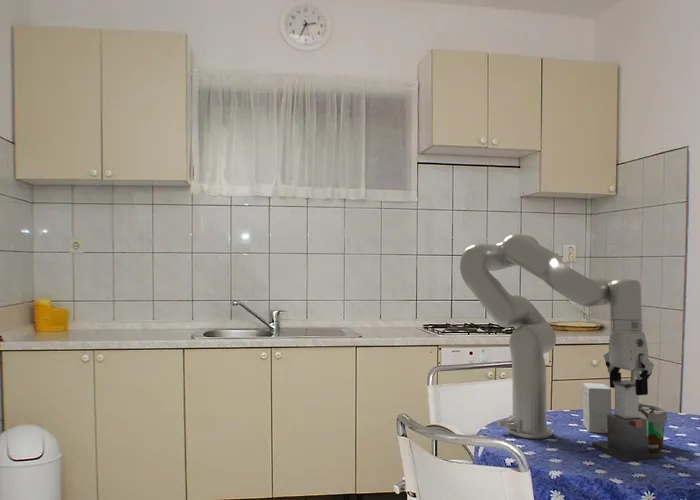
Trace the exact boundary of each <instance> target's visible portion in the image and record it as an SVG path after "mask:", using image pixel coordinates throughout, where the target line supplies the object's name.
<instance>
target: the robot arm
mask: <svg viewBox="0 0 700 500" xmlns="http://www.w3.org/2000/svg"><path fill="white" fill-rule="evenodd" d="M517 266H518V267H520V268H522V269H523V270H525V271H527V272H528V273H530V274H532V275H533V276H534V277H535V276H536V277H538V278H539V279H540V280H542V282H544V283H545V284H546V285H548V286H549V287H550V288H551V289H553V290H554V291H556V292H557V293H559V294H560V295H561V296H562V297H563V296H564V297H566V298H567V299H569V300H570V301H572V302H574V303H576V304H577V305H579V306H582V307H586V308H592V307H600V306H607V305H609V311H610V312H609V315H610V317H609V318H610V332H609V340H608V351H607V352H606V353H605V354H603V358H604V362H605V366H606V367H607V372H608V373H609V388H610V389H611V388H612V389H615V384H613V381H620V380H622V372H620V371H621V369H622V370H625V371H626V370H627V371H631V372H633V373H634V375H635V377H636V378H637V379H635V381H634V382H635V388H636V395H638V396H645V395H646V396H647V395H649V384H648V380H649V379H650V377H651V376H652V374H653V373H652V371H653V370H654V366H655V365H654V363H653V362H652V361H651V360H650V359H649V351H648V350H649V349H648V342H647V337H646V335H645V332H644V331H643V315H642V312H643V311H642V290H641V289H642V287H641V283H640V281H639V280H636V279H624V278H623V279H620V278H619V279H614V280H612V279H605V278H590V277H588V276H585V275H583V274H581V273H580V272H577V271H576V270H574V269H573V268H571V267H570V266H568V265H567V264H566V263H564V261H563V260H562V257H561V256H560V255H559V254H558V253H556V252H554V251H552V250H550V249H549V248H546V247H545V246H543V245H541V244H540V243H539V241H538V240H537V239H536V238H535V237H534V236H532V235H528V234H521V233H514V234H513V233H512V234H510V235H508V236H506V237H505V238H504V239H503V241H502V242H498V243H495V244H489V243H475V244H472V245H469V246H468V247H467V248H465V249H464V251H463V252H462V255H461V257H460V261H459V270H460V275H461V277H462V279H463V281H464V283H465V284H466V286H467V287H468V289H469V290H470V291H471V293H473V294H474V296H475V297H476V299H478V301H479V302H480V304H481V306H482V307H483V308H484V309H485V310H486V312H487V313H488V314H489V316H490V317H491V318H492V320H493V321H494V322H495V323H496V324H497V325H498V326H500V327H502V328H512V327H513V328H514V330H513V331H512V333H511V335H510V338H509V351H510V352H509V353H510V357H511V370H512V372H511V376H512V377H511V379H512V380H511V381H512V383H511V384H512V387H511V388H512V389H511V390H512V414H511V415H508V416H509V417H508V418H507V419H498V420H497V421H496V425H497V427H498V428H503V427H504V428H506V429H507V430H506V431H507V433H509V434H510V435H513V436H516V437H519V438H523V439H524V438H525V439H532V440H533V439H534V440H535V439H539V440H540V439H548V438H551V436H552V435H553V430H552V428H551V427H548V426H547V370H546V369H547V368H546V367H547V366H546V362H545V361H546V360H545V357H544V356H545V355H544V354H546V353H549V352H550V351H552V350H553V349H554V348H555V346H556V343H557V336H556V333H555V330H554V328H552V326H551V324H550V323H549V322H548V321H547V320H546V318H545V317H544V316H543V315H542V314H541V313H540V312H539V310H538V309H537V308H536V306H535V305H534V304H532V302H531V301H530V300H529V299H527V298H526V297H524V296H521V295H515V294H514V295H512V294H511V293H509V292H508V291H507V289H506V288H505V287H504V286H503V285H502V283H501V282H500V281H499V280H498V279H497V278H496V277H495V276H494V275H493V274H492V273H491V272H490V271H499V270H505V269H508V268H512V267H517Z"/></svg>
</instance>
